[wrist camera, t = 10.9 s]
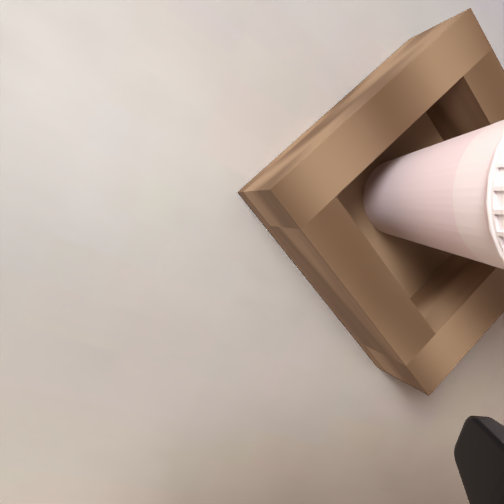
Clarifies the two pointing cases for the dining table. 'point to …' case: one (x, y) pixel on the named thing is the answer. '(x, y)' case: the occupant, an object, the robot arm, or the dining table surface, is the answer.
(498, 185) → the smoothie
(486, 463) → the robot arm
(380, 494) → the dining table surface
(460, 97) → the caddy
